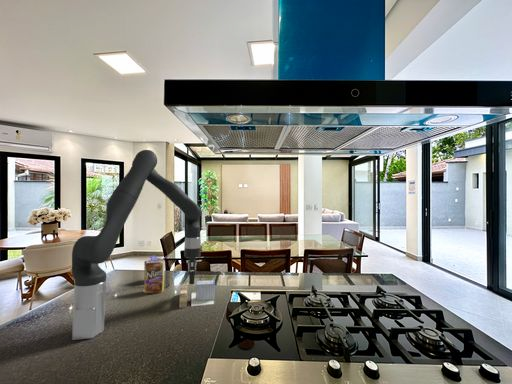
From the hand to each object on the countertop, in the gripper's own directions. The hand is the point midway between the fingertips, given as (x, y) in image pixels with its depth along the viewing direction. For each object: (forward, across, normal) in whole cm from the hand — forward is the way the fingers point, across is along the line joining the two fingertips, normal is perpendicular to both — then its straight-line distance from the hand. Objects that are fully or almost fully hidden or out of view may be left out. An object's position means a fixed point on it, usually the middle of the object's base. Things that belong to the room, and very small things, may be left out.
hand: (191, 281), depth 115 cm
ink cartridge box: (+9, +34, +22) cm, 41 cm away
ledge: (+9, 0, +4) cm, 9 cm away
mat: (+9, 0, -5) cm, 10 cm away
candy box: (+9, +15, +18) cm, 25 cm away
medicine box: (+4, -1, -2) cm, 5 cm away
